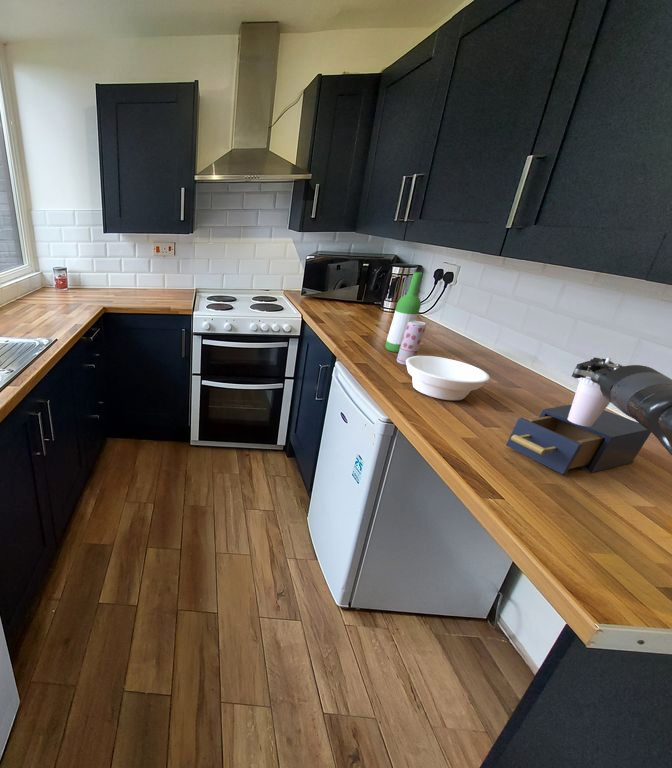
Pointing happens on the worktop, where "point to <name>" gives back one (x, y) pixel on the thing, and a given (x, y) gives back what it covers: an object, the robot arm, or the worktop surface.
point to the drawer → (554, 443)
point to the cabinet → (609, 437)
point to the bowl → (444, 377)
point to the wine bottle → (404, 314)
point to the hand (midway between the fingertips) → (597, 362)
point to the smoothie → (587, 402)
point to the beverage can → (411, 341)
